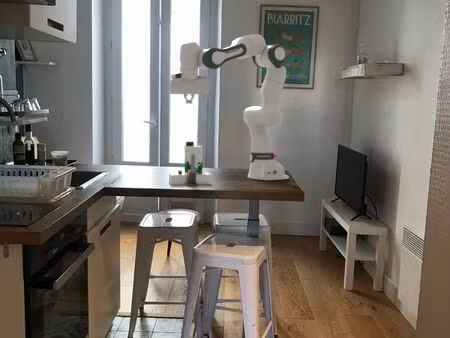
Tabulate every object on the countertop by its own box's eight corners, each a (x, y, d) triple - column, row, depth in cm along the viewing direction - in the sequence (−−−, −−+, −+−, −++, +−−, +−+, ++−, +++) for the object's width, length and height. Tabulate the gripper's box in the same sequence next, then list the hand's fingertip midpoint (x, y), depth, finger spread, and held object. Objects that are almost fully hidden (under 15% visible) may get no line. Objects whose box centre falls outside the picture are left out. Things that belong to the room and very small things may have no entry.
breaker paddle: (190, 172, 253) (190, 169, 253) (191, 173, 250) (191, 170, 250) (188, 172, 253) (188, 169, 252) (189, 173, 250) (189, 170, 250)
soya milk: (187, 178, 268) (187, 141, 266) (203, 178, 267) (204, 141, 264) (182, 180, 260) (183, 142, 257) (199, 181, 258) (200, 143, 255)
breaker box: (207, 181, 259) (207, 168, 258) (210, 184, 251) (211, 171, 250) (168, 182, 253) (169, 169, 252) (171, 185, 246) (171, 172, 245)
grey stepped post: (196, 184, 249) (196, 153, 246) (198, 186, 244) (199, 155, 241) (186, 185, 247) (186, 153, 245) (188, 186, 242) (188, 155, 240)
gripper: (207, 75, 253) (207, 103, 255) (167, 75, 247) (168, 103, 249) (210, 75, 247) (210, 103, 249) (169, 74, 241) (170, 103, 243)
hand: (189, 103), depth 249 cm, fingers closed
